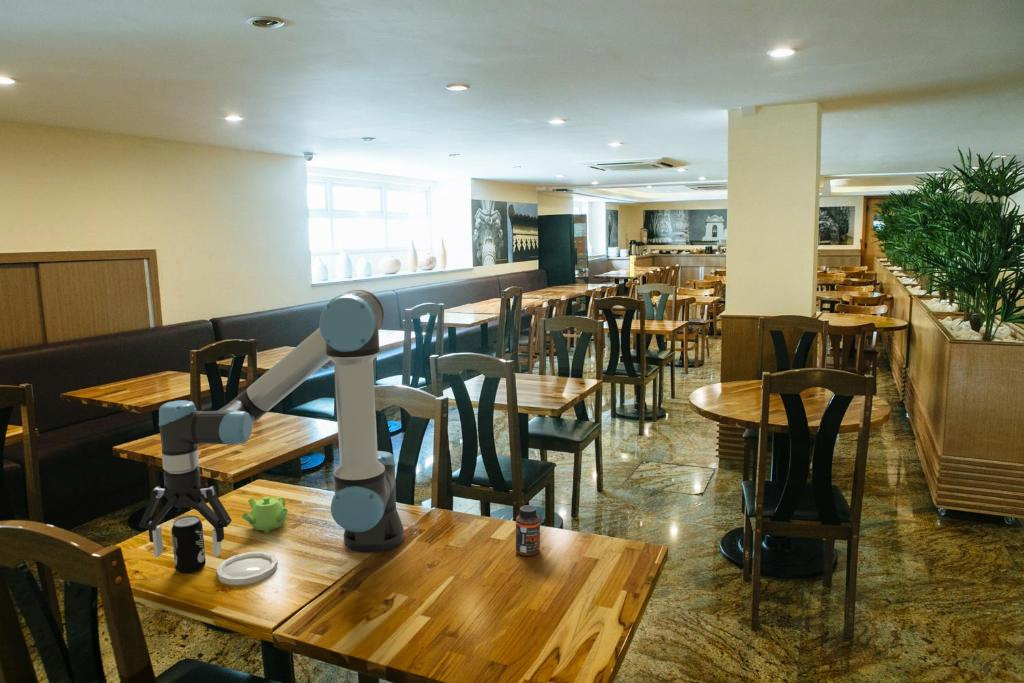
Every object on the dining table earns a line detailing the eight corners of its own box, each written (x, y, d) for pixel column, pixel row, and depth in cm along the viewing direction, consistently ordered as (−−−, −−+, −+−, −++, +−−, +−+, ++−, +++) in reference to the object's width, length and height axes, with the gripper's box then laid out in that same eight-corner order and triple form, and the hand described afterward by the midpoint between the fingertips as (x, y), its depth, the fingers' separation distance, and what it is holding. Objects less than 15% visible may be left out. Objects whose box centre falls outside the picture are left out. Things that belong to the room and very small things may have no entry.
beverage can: (194, 576, 160) (189, 527, 158) (169, 573, 161) (164, 525, 159) (211, 562, 166) (207, 515, 164) (187, 560, 168) (183, 513, 165)
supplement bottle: (527, 559, 167) (526, 515, 165) (510, 551, 171) (510, 507, 169) (545, 551, 171) (545, 508, 169) (528, 543, 175) (528, 501, 173)
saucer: (283, 557, 169) (283, 551, 168) (266, 584, 156) (266, 578, 156) (230, 558, 168) (229, 552, 168) (208, 586, 156) (207, 579, 155)
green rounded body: (292, 516, 192) (291, 487, 190) (288, 534, 181) (286, 504, 179) (250, 520, 190) (247, 491, 188) (243, 539, 179) (240, 508, 177)
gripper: (242, 462, 163) (247, 546, 167) (134, 462, 163) (142, 547, 166) (230, 473, 156) (236, 561, 160) (117, 474, 155) (126, 562, 159)
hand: (188, 554), depth 163 cm, fingers open, 13 cm apart
